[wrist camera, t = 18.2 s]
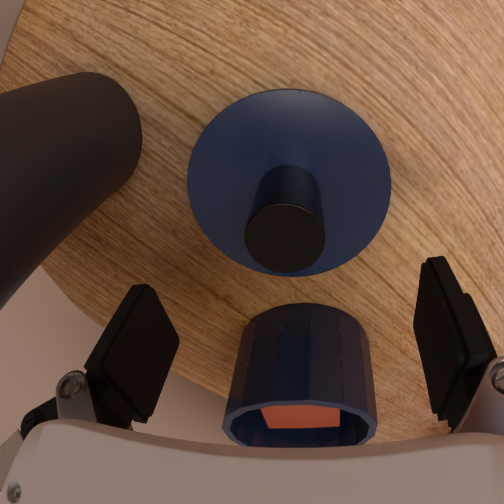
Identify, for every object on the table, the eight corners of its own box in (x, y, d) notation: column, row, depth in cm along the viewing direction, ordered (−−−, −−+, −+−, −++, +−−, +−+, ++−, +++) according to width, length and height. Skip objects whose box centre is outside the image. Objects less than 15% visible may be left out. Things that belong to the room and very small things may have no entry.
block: (275, 373, 29) (268, 428, 24) (263, 333, 26) (253, 395, 21) (338, 369, 27) (339, 426, 23) (336, 327, 24) (340, 391, 19)
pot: (255, 384, 31) (243, 457, 24) (226, 308, 25) (200, 399, 18) (364, 377, 29) (369, 454, 22) (368, 296, 23) (384, 393, 16)
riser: (66, 204, 22) (-45, 316, 11) (28, 102, 17) (-114, 176, 6) (159, 179, 20) (33, 325, 9) (119, 50, 15) (-72, 92, 4)
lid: (221, 274, 23) (200, 337, 18) (169, 113, 17) (117, 140, 12) (387, 257, 21) (408, 321, 16) (376, 76, 14) (413, 85, 9)
